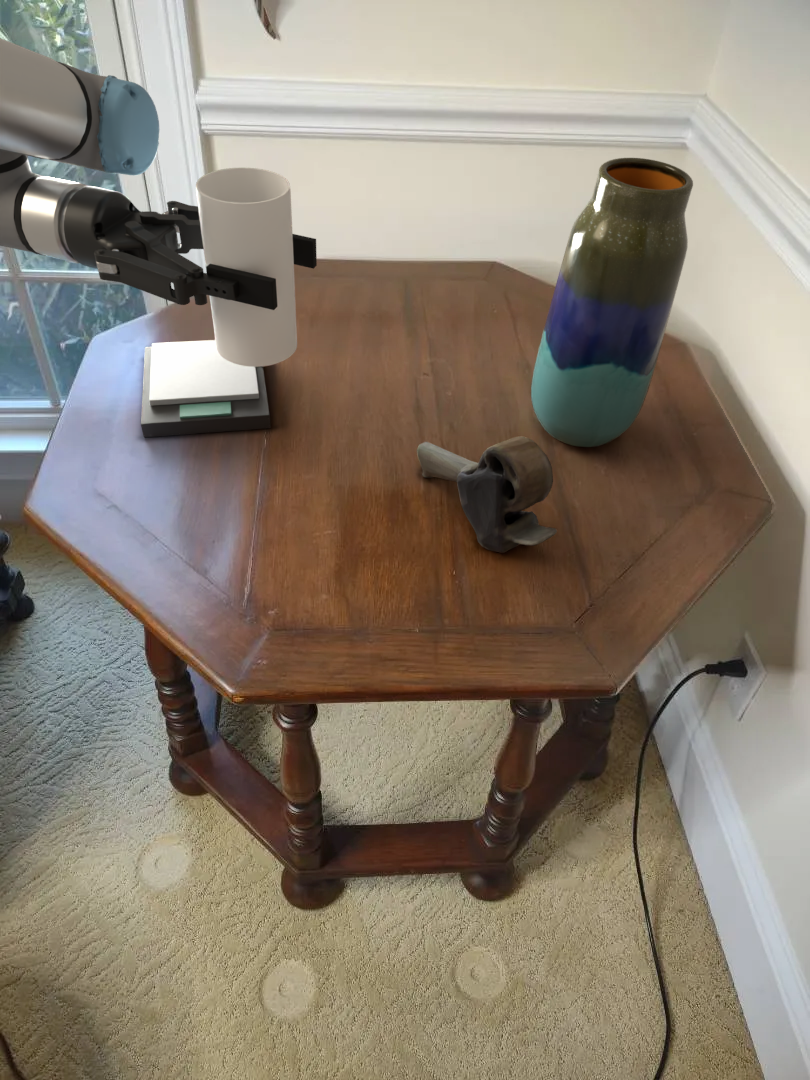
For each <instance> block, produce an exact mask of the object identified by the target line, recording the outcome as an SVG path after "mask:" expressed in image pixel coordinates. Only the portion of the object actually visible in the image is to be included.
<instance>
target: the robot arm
mask: <svg viewBox="0 0 810 1080" xmlns="http://www.w3.org/2000/svg"><path fill="white" fill-rule="evenodd" d="M159 140H160V120H159V115H158V111H157V108H156V105H155V102H154V99H152V97H151V95H150V94H149V92H148V91H147V90H146V89H145V88H144V87H143V86H142V85H140V84H138V83H136V82H133V81H130V80H124V79H120V78H118V77H116V76H115V75H110V74H109V75H107V76H106V75H101V74H100V75H99V74H95V73H91V72H87V71H84V70H82V69H79V68H76V67H74V66H71V65H69V64H67V63H64V62H61V61H58V60H55V59H53V58H51V57H50V56H47V55H44V54H41V53H39V52H36V51H35V50H31V49H28V48H26V47H23V46H21V45H20V44H19V45H18V44H16V43H14V42H11V41H8V40H6V39H3V38H1V37H0V247H4V248H10V249H14V250H18V251H19V250H20V251H24V252H29V253H33V254H34V255H39V256H44V257H48V258H53V259H57V260H61V261H65V262H66V263H69V264H78V265H81V266H84V267H87V268H93V269H96V270H97V272H98V276H99V279H100V280H102V281H108V282H115V283H121V284H124V285H127V286H129V287H132V288H134V289H137V290H140V291H143V292H144V293H147V294H151V295H153V296H156V297H157V298H161V299H164V300H166V301H168V302H171V303H174V304H177V305H180V306H186V305H189V304H190V303H191V298H192V297H193V298H194V304H195V305H197V306H204V305H207V304H208V297H207V296H209V297H210V296H214V297H219V298H223V299H226V300H233V301H237V302H241V303H246V304H250V305H254V306H258V307H262V308H267V309H271V310H275V309H276V308H277V290H276V279H275V278H271V277H267V276H262V275H258V274H254V273H249V272H245V271H240V270H236V269H232V268H227V267H223V266H219V265H214V264H209V265H208V266H207V267H206V266H205V270H206V271H207V272H206V271H205V272H204V268H203V267H202V266H200V265H199V264H196V263H195V262H193V261H192V260H190V259H189V258H187V257H185V256H183V255H185V254H189V253H190V252H191V250H204V249H203V241H202V234H201V226H200V218H199V210H198V205H191V204H187V203H184V202H180V201H176V200H169V201H167V202H166V209H167V211H164V212H162V213H160V212H157V211H148V210H147V211H143V210H142V211H141V210H139V209H138V207H136V206H135V204H134V203H133V202H132V200H131V199H130V198H129V197H128V196H127V195H126V194H123V193H122V192H120V191H118V190H117V191H115V190H112V189H106V188H102V187H98V186H92V185H87V184H85V183H81V182H76V181H73V180H72V181H71V180H67V179H61V178H57V177H56V178H55V177H51V176H45V175H42V174H38V173H35V172H33V171H32V168H31V165H30V161H29V157H32V158H36V159H39V160H48V161H52V162H57V163H62V164H65V165H66V164H67V165H71V166H75V167H80V168H85V169H90V170H94V171H99V172H103V173H107V174H110V175H115V174H118V175H125V176H139V175H142V174H143V173H146V171H148V170H149V169H150V168H151V166H152V165H153V164H154V161H155V159H156V156H157V154H158V150H159V145H160V142H159ZM178 234H179V238H178ZM292 234H293V257H294V266H300V267H305V268H309V269H315V268H316V267H317V263H318V262H317V261H318V260H317V238H314V237H311V236H310V237H309V236H304V235H300V234H295V233H292ZM179 239H180V242H179ZM181 254H182V255H181ZM172 284H173V287H172Z"/></svg>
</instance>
